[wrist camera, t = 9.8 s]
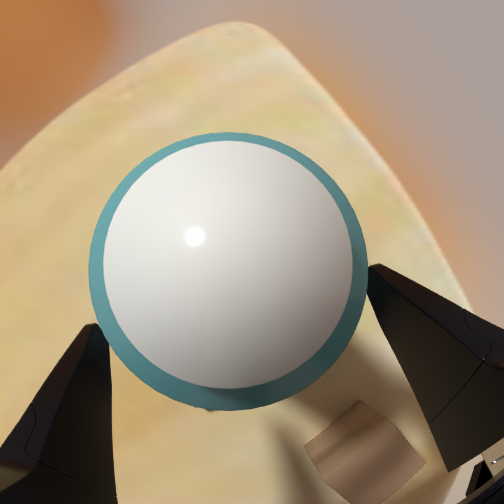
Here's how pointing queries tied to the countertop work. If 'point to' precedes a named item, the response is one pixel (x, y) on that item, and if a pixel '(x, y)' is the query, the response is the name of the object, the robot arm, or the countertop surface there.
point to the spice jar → (228, 271)
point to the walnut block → (363, 456)
